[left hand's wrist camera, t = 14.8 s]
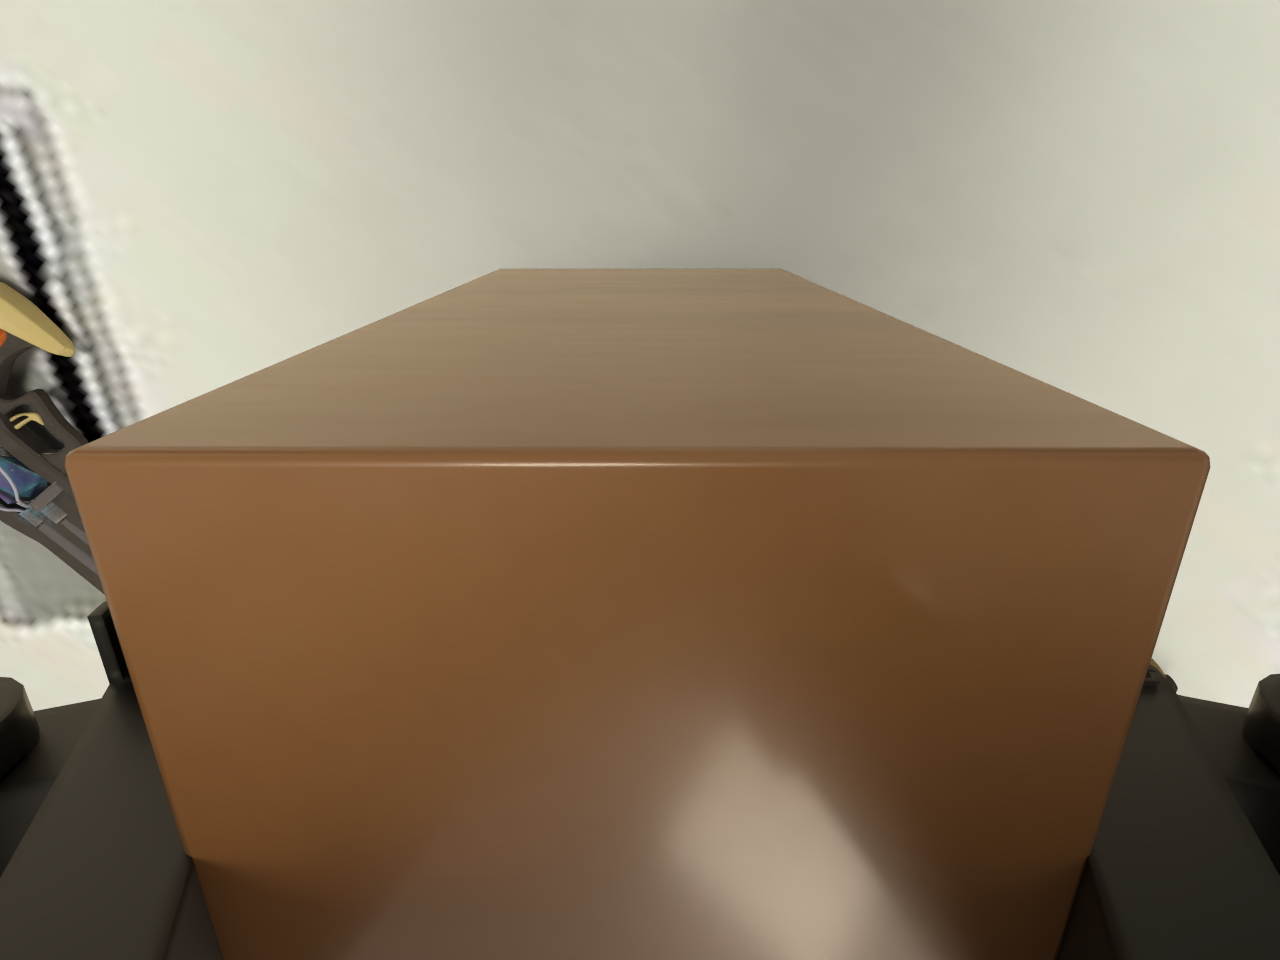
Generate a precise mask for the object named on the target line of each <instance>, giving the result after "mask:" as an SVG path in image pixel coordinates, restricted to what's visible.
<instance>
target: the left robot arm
mask: <svg viewBox="0 0 1280 960" xmlns="http://www.w3.org/2000/svg"><path fill="white" fill-rule="evenodd" d="M88 620H89V623H90V626H91V629H92V632H93V635H94V638H95V641H96V644H97V647H98V650H99V653H100V656H101V659H102V662H103V665H104V668H105V671H106V674H107V677H108V680H109V683H110V685H109V686H108V688H107V690H106V692H105V693H104V695H103V697H102V698H101V699H97V700H92V701H86V702H81V703H76V704H70V705H65V706H60V707H54V708H49V709H44V710H39V711H33V709H32V707H31V704H30V702H29V699H28V696H27V694H26V691H25V689H24V686H23V685H22V684H20V683H19V682H17V681H16V680H14V679H12V678H7V677H0V960H224V958H223V955H222V952H221V949H220V945H219V942H218V939H217V936H216V933H215V929H214V926H213V923H212V920H211V916H210V913H209V910H208V907H207V903H206V900H205V897H204V894H203V891H202V887H201V884H200V881H199V878H198V874H197V871H196V868H195V865H194V862H193V858H192V857H191V856H189V855H187V854H186V853H185V850H184V847H183V844H182V841H181V837H180V834H179V831H178V828H177V825H176V821H175V818H174V815H173V812H172V809H171V805H170V802H169V799H168V796H167V793H166V789H165V786H164V783H163V780H162V776H161V773H160V770H159V767H158V764H157V760H156V757H155V754H154V751H153V748H152V744H151V741H150V738H149V735H148V732H147V728H146V725H145V722H144V719H143V716H142V712H141V709H140V706H139V703H138V700H137V696H136V693H135V690H134V687H133V684H132V680H131V677H130V674H129V671H128V667H127V664H126V661H125V658H124V655H123V651H122V648H121V645H120V642H119V639H118V635H117V632H116V629H115V626H114V623H113V619H112V616H111V613H110V610H109V607H108V603H107V601H106V602H104V603H102V604H101V605H100V606H99V607H98V608H96V609H95V610H94V611H93V612H92V613H91V614H90V615H89V616H88ZM1056 960H1280V674H1271V675H1269V676H1268V677H1266V678H1264V679H1263V680H1261V681H1259V683H1258V686H1257V688H1256V691H1255V693H1254V696H1253V699H1252V701H1251V704H1250V706H1249V708H1244V707H1239V706H1233V705H1228V704H1223V703H1217V702H1212V701H1207V700H1201V699H1196V698H1191V697H1185V696H1181V695H1177V694H1176V692H1175V690H1174V689H1173V687H1172V685H1171V683H1170V682H1169V681H1168V680H1167V679H1166V678H1165V677H1164V675H1163V674H1162V673H1161V672H1160V671H1159V670H1158V669H1157V668H1156V667H1154V666H1153V665H1151V664H1149V667H1148V670H1147V674H1146V677H1145V680H1144V683H1143V686H1142V690H1141V693H1140V696H1139V699H1138V703H1137V706H1136V709H1135V712H1134V716H1133V719H1132V722H1131V725H1130V729H1129V732H1128V735H1127V738H1126V741H1125V745H1124V748H1123V751H1122V754H1121V758H1120V761H1119V764H1118V767H1117V771H1116V774H1115V777H1114V780H1113V784H1112V787H1111V790H1110V793H1109V796H1108V800H1107V803H1106V806H1105V809H1104V813H1103V816H1102V819H1101V822H1100V826H1099V829H1098V832H1097V835H1096V839H1095V842H1094V845H1093V848H1092V851H1091V855H1090V856H1088V858H1087V862H1086V865H1085V868H1084V871H1083V874H1082V878H1081V881H1080V884H1079V887H1078V891H1077V894H1076V897H1075V900H1074V904H1073V907H1072V910H1071V913H1070V916H1069V920H1068V923H1067V926H1066V929H1065V933H1064V936H1063V939H1062V942H1061V946H1060V949H1059V952H1058V955H1057V958H1056Z"/></svg>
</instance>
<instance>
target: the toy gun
mask: <svg viewBox="0 0 1280 960" xmlns="http://www.w3.org/2000/svg"><path fill="white" fill-rule="evenodd" d="M31 347H39V348H41V349H43V350H45V351H47V352H50V353H53V354H57V355H62V356H67V357H70V356H73V354H74V353H75V348H74V345H73V343H72V341H71V340H70V339H69V338H68V337H67V336H66V335H65V334H64V333H63V332H62V331H61V329H60V328H59V327H58V326H57V325H55V324H54V323H53V322H52V321H51V320H50V319H49V318H48V317H47V316H46V315H45V314H44V313H43V312H42V311H41V310H40V309H39V308H38V307H37V306H36V305H34V304H33V303H32V302H31V301H29V300H28V299H27V298H25V297H24V296H23V295H21V294H20V293H18V292H17V291H15V290H14V289H12V288H11V287H9V286H8V285H6V284H4V283H2V282H0V447H2V448H4V449H5V450H6V451H8V452H9V453H10V454H11V455H13V456H14V457H15V458H11V457H6V456H1V455H0V520H1V521H2V522H4V523H5V524H7V525H9V526H10V527H12V528H14V529H15V530H17V531H19V532H21V533H22V534H24V535H26V536H28V537H30V538H32V539H34V540H35V541H37V542H39V543H40V544H42V545H43V546H45V547H46V548H47V549H49V550H50V551H51V552H53V553H54V554H55V555H56V556H58V557H59V558H60V559H61V560H63V561H64V562H65V563H66V564H68V565H69V566H70V567H71V568H72V569H74V570H75V571H76V572H77V573H79V574H80V575H81V576H82V577H84V578H85V579H86V580H87V581H89V582H90V583H91V584H92V585H93V586H95V587H96V588H97V589H98V590H100V591H101V592H102V593H103V594H104V591H103V587H102V584H101V581H100V578H99V575H98V571H97V568H96V565H95V562H94V558H93V555H92V552H91V549H90V546H89V542H88V539H87V536H86V533H85V530H84V526H83V523H82V520H81V517H80V514H79V510H78V507H77V504H76V501H75V498H74V494H73V491H72V488H71V485H70V482H69V478H68V475H67V472H66V469H65V459H66V455H67V454H68V453H69V452H70V451H72V450H74V449H76V448H78V447H80V446H83V445H85V444H88V441H87V439H86V438H85V437H84V436H83V435H82V434H81V433H80V432H78V431H77V430H76V429H75V428H74V427H73V426H72V425H71V424H70V423H69V422H68V421H67V420H66V419H65V418H64V417H63V416H62V414H61V413H60V412H59V411H58V409H57V408H56V406H55V405H54V403H53V402H52V400H51V399H50V397H49V396H48V394H47V393H46V392H45V391H44V390H42V389H36V390H33V391H30V392H29V393H27V394H25V395H23V396H21V397H19V398H13V397H11V396H9V395H7V384H8V379H9V376H10V372H11V369H12V366H13V363H14V361H15V359H16V358H17V357H18V356H19V355H20V354H22V353H23V352H25V351H26V350H28V349H29V348H31ZM23 404H30V405H31V406H32V407H33V408H34V409H35V410H36V411H37V412H27V413H21V414H18V415H16V416H15V414H14V412H13V411H14V410H15V409H16V408H17V407H18V406H20V405H23ZM20 416H28V418H27V419H25V420H23V421H21V422H19V421H18V420H17V418H19V417H20ZM31 420H34V421H36V422H38V423H40V424H41V425H45V424H46V425H47V426H48V427H49V428H50V430H51V431H52V432H53V433H54V434H55V435H56V436H57V437H59V438H60V439H61V440H62V442H63V443H64V448H63V449H58V450H52V449H50V448H49V447H48V446H47V445H46V444H44V443H43V442H42V441H41V440H40V439H38V438H37V437H36V436H35V435H34V434H32V433H31V432H30V431H29V430H28V429H26V428H25V427H24V425H25V424H26V423H28V422H29V421H31ZM47 481H48V482H49V483H51V485H50V486H49V487H48V488H47V489H46V487H47ZM45 489H46V490H45ZM24 501H31V503H29V504H28V503H25V502H24ZM16 503H19V504H21V505H24V506H27V507H29V508H28V509H27V508H25V507H22V506H20V505H18V504H16ZM104 595H105V594H104Z"/></svg>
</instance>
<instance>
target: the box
mask: <svg viewBox="0 0 1280 960" xmlns="http://www.w3.org/2000/svg"><path fill="white" fill-rule="evenodd" d="M65 469H66V472H67V475H68V478H69V482H70V485H71V488H72V491H73V494H74V498H75V501H76V504H77V507H78V510H79V514H80V517H81V520H82V523H83V526H84V530H85V533H86V536H87V539H88V542H89V546H90V549H91V552H92V555H93V558H94V562H95V565H96V568H97V571H98V575H99V578H100V581H101V584H102V587H103V591H104V594H105V597H106V600H107V603H108V607H109V610H110V613H111V616H112V619H113V623H114V626H115V629H116V632H117V635H118V639H119V642H120V645H121V648H122V651H123V655H124V658H125V661H126V664H127V667H128V671H129V674H130V677H131V680H132V684H133V687H134V690H135V693H136V696H137V700H138V703H139V706H140V709H141V712H142V716H143V719H144V722H145V725H146V728H147V732H148V735H149V738H150V741H151V744H152V748H153V751H154V754H155V757H156V760H157V764H158V767H159V770H160V773H161V776H162V780H163V783H164V786H165V789H166V793H167V796H168V799H169V802H170V805H171V809H172V812H173V815H174V818H175V821H176V825H177V828H178V831H179V834H180V837H181V841H182V844H183V847H184V850H185V853H186V854H187V855H189V856H191V857H192V858H193V862H194V865H195V868H196V871H197V874H198V878H199V881H200V884H201V887H202V891H203V894H204V897H205V900H206V903H207V907H208V910H209V913H210V916H211V920H212V923H213V926H214V929H215V933H216V936H217V939H218V942H219V945H220V949H221V952H222V955H223V958H224V960H1056V958H1057V955H1058V952H1059V949H1060V946H1061V942H1062V939H1063V936H1064V933H1065V929H1066V926H1067V923H1068V920H1069V916H1070V913H1071V910H1072V907H1073V904H1074V900H1075V897H1076V894H1077V891H1078V887H1079V884H1080V881H1081V878H1082V874H1083V871H1084V868H1085V865H1086V862H1087V858H1088V856H1090V855H1091V851H1092V848H1093V845H1094V842H1095V839H1096V835H1097V832H1098V829H1099V826H1100V822H1101V819H1102V816H1103V813H1104V809H1105V806H1106V803H1107V800H1108V796H1109V793H1110V790H1111V787H1112V784H1113V780H1114V777H1115V774H1116V771H1117V767H1118V764H1119V761H1120V758H1121V754H1122V751H1123V748H1124V745H1125V741H1126V738H1127V735H1128V732H1129V729H1130V725H1131V722H1132V719H1133V716H1134V712H1135V709H1136V706H1137V703H1138V699H1139V696H1140V693H1141V690H1142V686H1143V683H1144V680H1145V677H1146V674H1147V670H1148V667H1149V664H1150V661H1151V657H1152V654H1153V651H1154V648H1155V644H1156V641H1157V638H1158V635H1159V631H1160V628H1161V625H1162V622H1163V619H1164V615H1165V612H1166V609H1167V606H1168V602H1169V599H1170V596H1171V593H1172V589H1173V586H1174V583H1175V580H1176V576H1177V573H1178V570H1179V567H1180V564H1181V560H1182V557H1183V554H1184V551H1185V547H1186V544H1187V541H1188V538H1189V534H1190V531H1191V528H1192V525H1193V521H1194V518H1195V515H1196V512H1197V509H1198V505H1199V502H1200V499H1201V496H1202V492H1203V489H1204V486H1205V483H1206V479H1207V476H1208V473H1209V470H1210V460H1209V456H1208V455H1207V454H1206V453H1205V452H1204V451H1202V450H1199V449H1197V448H1195V447H1193V446H1190V445H1188V444H1186V443H1183V442H1181V441H1179V440H1176V439H1174V438H1172V437H1169V436H1167V435H1165V434H1163V433H1160V432H1158V431H1156V430H1153V429H1151V428H1149V427H1146V426H1144V425H1142V424H1139V423H1137V422H1135V421H1132V420H1130V419H1128V418H1125V417H1123V416H1121V415H1118V414H1116V413H1114V412H1112V411H1109V410H1107V409H1105V408H1102V407H1100V406H1098V405H1095V404H1093V403H1091V402H1088V401H1086V400H1084V399H1081V398H1079V397H1077V396H1074V395H1072V394H1070V393H1067V392H1065V391H1063V390H1061V389H1058V388H1056V387H1054V386H1051V385H1049V384H1047V383H1044V382H1042V381H1040V380H1037V379H1035V378H1033V377H1030V376H1028V375H1026V374H1023V373H1021V372H1019V371H1017V370H1014V369H1012V368H1010V367H1007V366H1005V365H1003V364H1000V363H998V362H996V361H993V360H991V359H989V358H986V357H984V356H982V355H979V354H977V353H975V352H972V351H970V350H968V349H966V348H963V347H961V346H959V345H956V344H954V343H952V342H949V341H947V340H945V339H942V338H940V337H938V336H935V335H933V334H931V333H928V332H926V331H924V330H921V329H919V328H917V327H915V326H912V325H910V324H908V323H905V322H903V321H901V320H898V319H896V318H894V317H891V316H889V315H887V314H884V313H882V312H880V311H877V310H875V309H873V308H871V307H868V306H866V305H864V304H861V303H859V302H857V301H854V300H852V299H850V298H847V297H845V296H843V295H840V294H838V293H836V292H833V291H831V290H829V289H826V288H824V287H822V286H820V285H817V284H815V283H813V282H810V281H808V280H806V279H803V278H801V277H799V276H796V275H794V274H792V273H789V272H787V271H785V270H782V269H499V270H496V271H494V272H492V273H489V274H487V275H485V276H482V277H480V278H478V279H475V280H473V281H470V282H468V283H466V284H463V285H461V286H459V287H456V288H454V289H452V290H449V291H447V292H444V293H442V294H440V295H437V296H435V297H433V298H430V299H428V300H426V301H423V302H421V303H418V304H416V305H414V306H411V307H409V308H407V309H404V310H402V311H400V312H397V313H395V314H392V315H390V316H388V317H385V318H383V319H381V320H378V321H376V322H374V323H371V324H369V325H366V326H364V327H362V328H359V329H357V330H355V331H352V332H350V333H348V334H345V335H343V336H340V337H338V338H336V339H333V340H331V341H329V342H326V343H324V344H322V345H319V346H317V347H314V348H312V349H310V350H307V351H305V352H303V353H300V354H298V355H296V356H293V357H291V358H288V359H286V360H284V361H281V362H279V363H277V364H274V365H272V366H270V367H267V368H265V369H262V370H260V371H258V372H255V373H253V374H251V375H248V376H246V377H244V378H241V379H239V380H236V381H234V382H232V383H229V384H227V385H225V386H222V387H220V388H218V389H215V390H213V391H210V392H208V393H206V394H203V395H201V396H199V397H196V398H194V399H192V400H189V401H187V402H184V403H182V404H180V405H177V406H175V407H173V408H170V409H168V410H166V411H163V412H161V413H158V414H156V415H154V416H151V417H149V418H147V419H144V420H142V421H140V422H137V423H135V424H132V425H130V426H128V427H125V428H123V429H121V430H118V431H116V432H114V433H111V434H109V435H106V436H104V437H102V438H99V439H97V440H95V441H92V442H90V443H88V444H85V445H83V446H80V447H78V448H76V449H74V450H72V451H70V452H69V453H68V454H67V455H66V459H65Z"/></svg>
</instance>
